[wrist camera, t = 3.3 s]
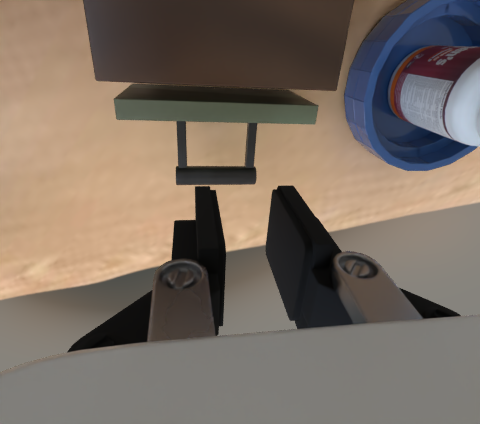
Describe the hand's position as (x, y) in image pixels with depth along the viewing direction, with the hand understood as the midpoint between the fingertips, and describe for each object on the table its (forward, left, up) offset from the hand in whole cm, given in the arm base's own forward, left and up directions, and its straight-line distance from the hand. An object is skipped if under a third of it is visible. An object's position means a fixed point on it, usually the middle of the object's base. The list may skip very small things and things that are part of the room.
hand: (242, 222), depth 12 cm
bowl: (+18, +4, -17) cm, 25 cm away
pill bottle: (+18, +4, -17) cm, 25 cm away
